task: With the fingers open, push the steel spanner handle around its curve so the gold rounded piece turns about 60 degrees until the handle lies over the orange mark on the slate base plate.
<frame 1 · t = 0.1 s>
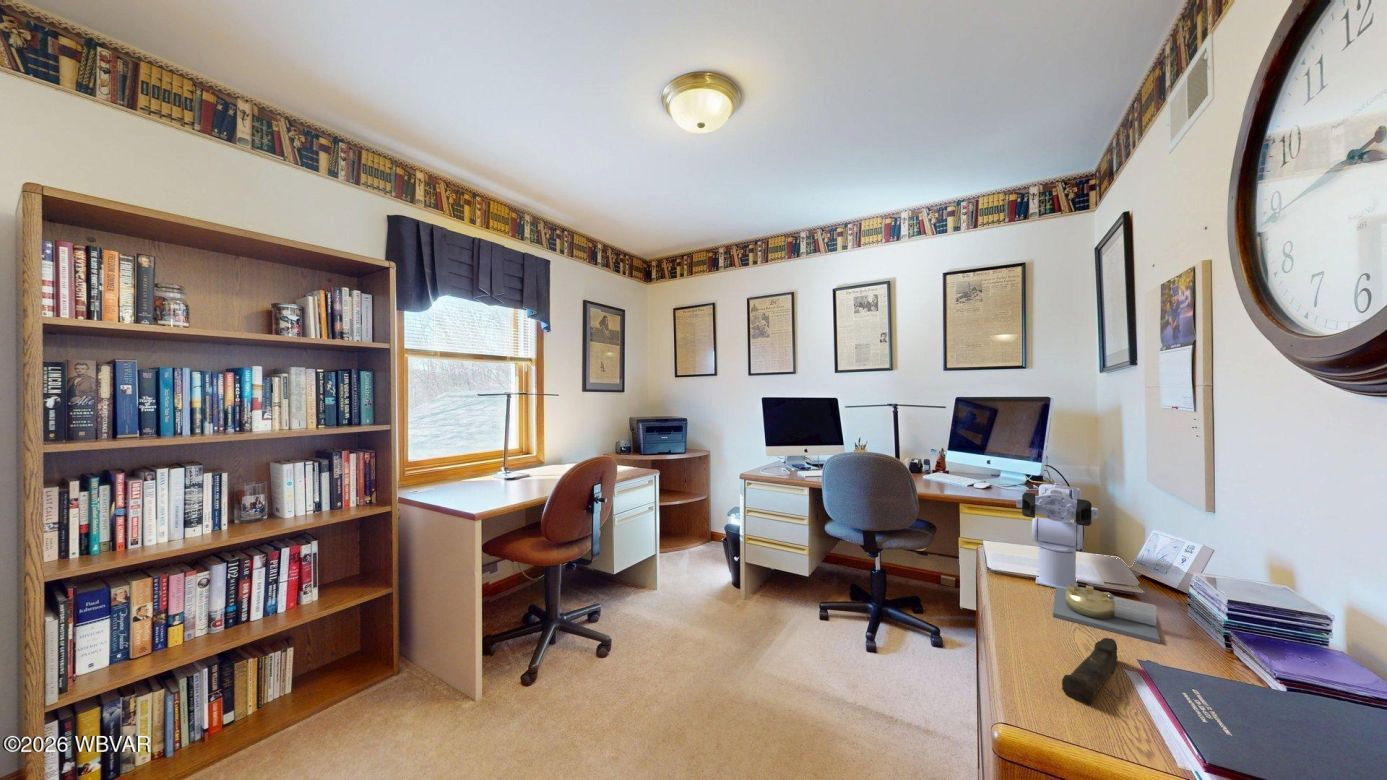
hand: (1054, 513, 99), 22 cm above the table, tool horizontal, fingers open, 7 cm apart
hand tool: (1092, 679, 78), on the table
base plate: (1101, 613, 99), on the table
gold rounded piece: (1108, 604, 96), point 3 cm above the table, hinge at 0.0°
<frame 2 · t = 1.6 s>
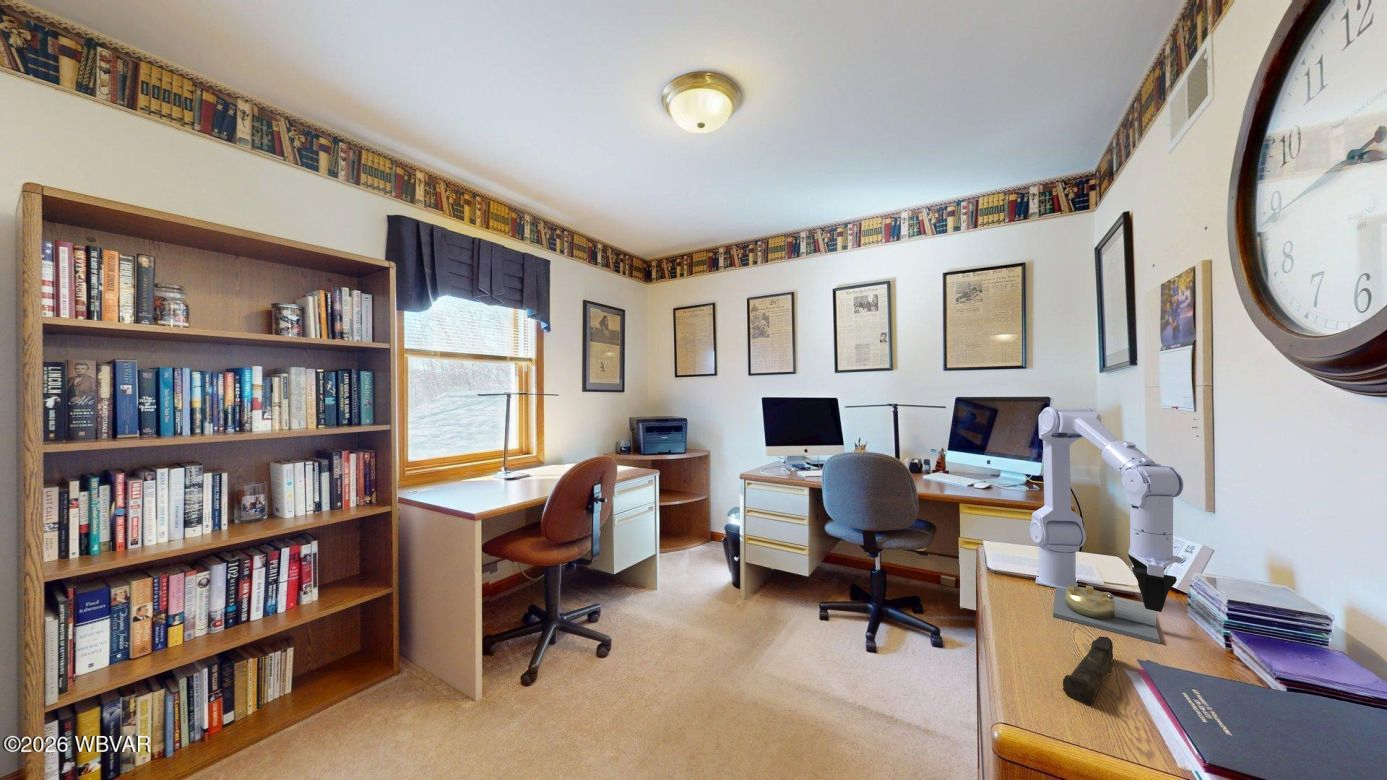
hand: (1150, 602, 86), 8 cm above the table, tool pointing down, fingers open, 7 cm apart
nothing on the table moved.
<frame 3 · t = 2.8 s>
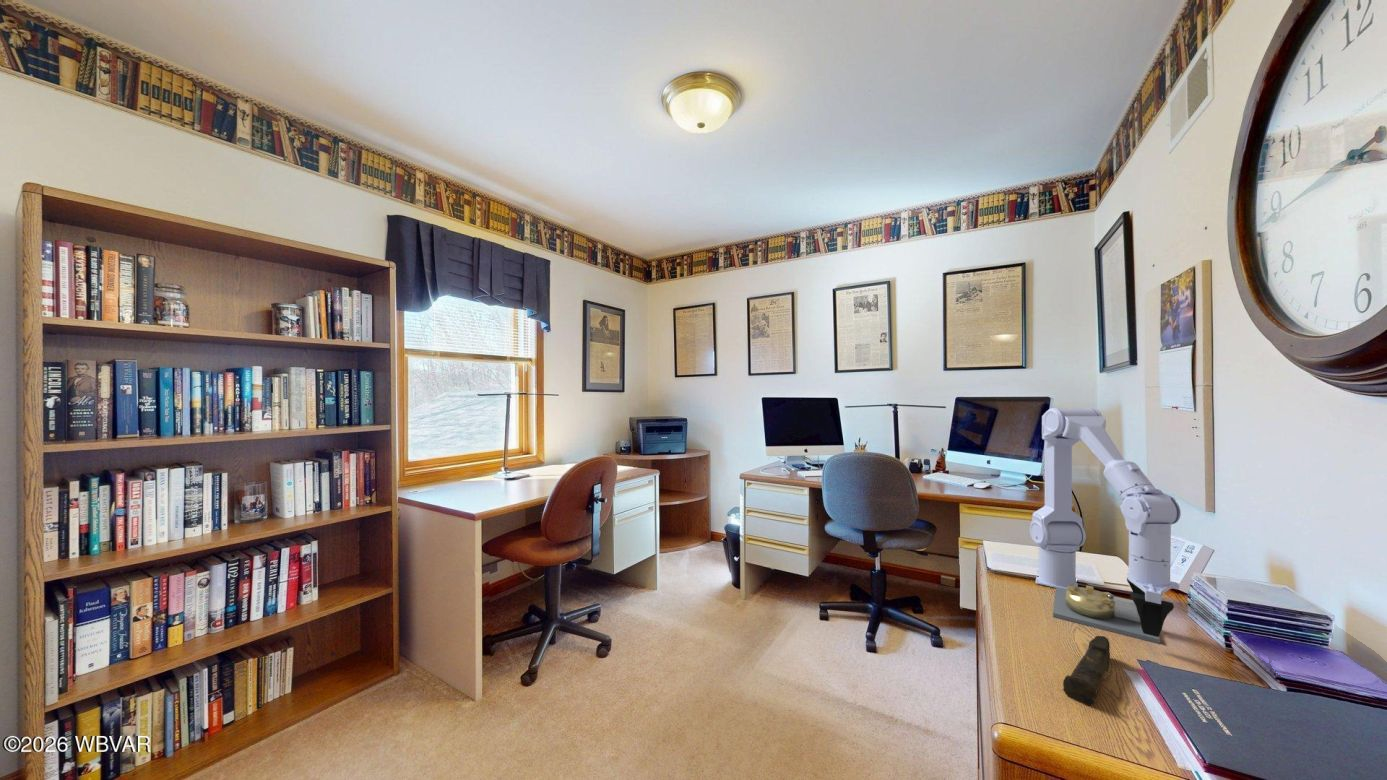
hand: (1148, 626, 89), 3 cm above the table, tool pointing down, fingers open, 7 cm apart
gold rounded piece: (1108, 604, 96), point 3 cm above the table, hinge at 0.0°, touching gripper
everything else where it was.
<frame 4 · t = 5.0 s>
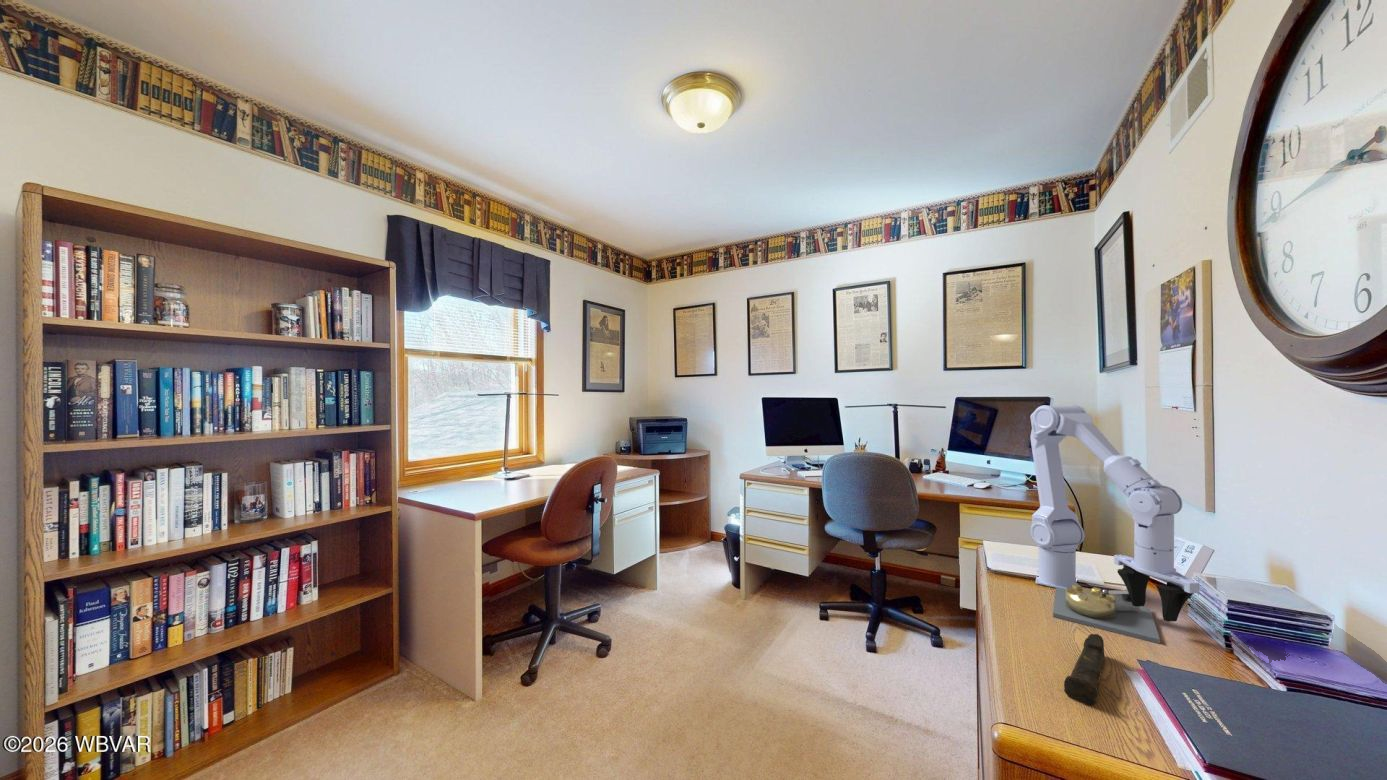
hand: (1153, 612, 94), 3 cm above the table, tool pointing down, fingers open, 6 cm apart
gold rounded piece: (1103, 599, 98), point 3 cm above the table, hinge at 39.8°, touching gripper
everything else where it was.
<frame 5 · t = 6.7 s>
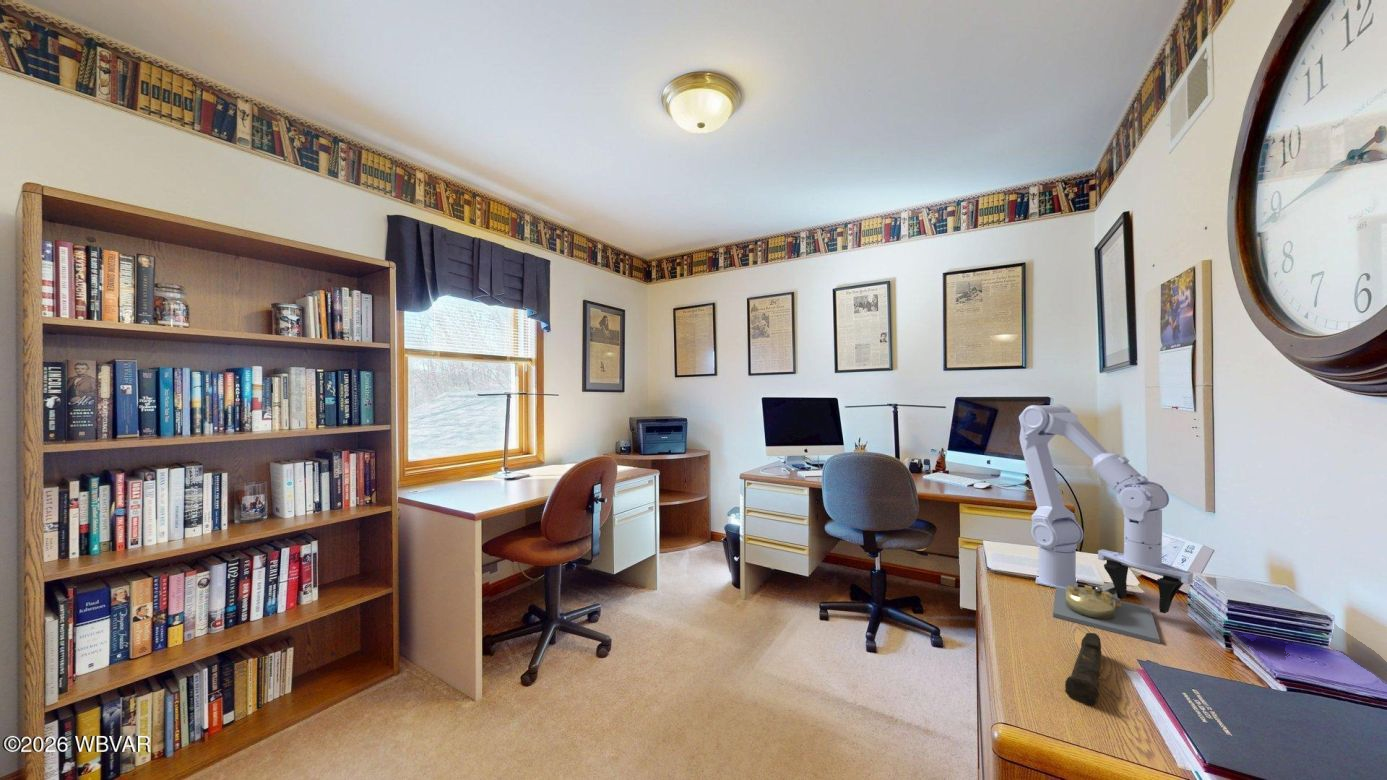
hand: (1142, 604, 97), 3 cm above the table, tool pointing down, fingers open, 6 cm apart
gold rounded piece: (1097, 597, 100), point 3 cm above the table, hinge at 63.5°, touching gripper
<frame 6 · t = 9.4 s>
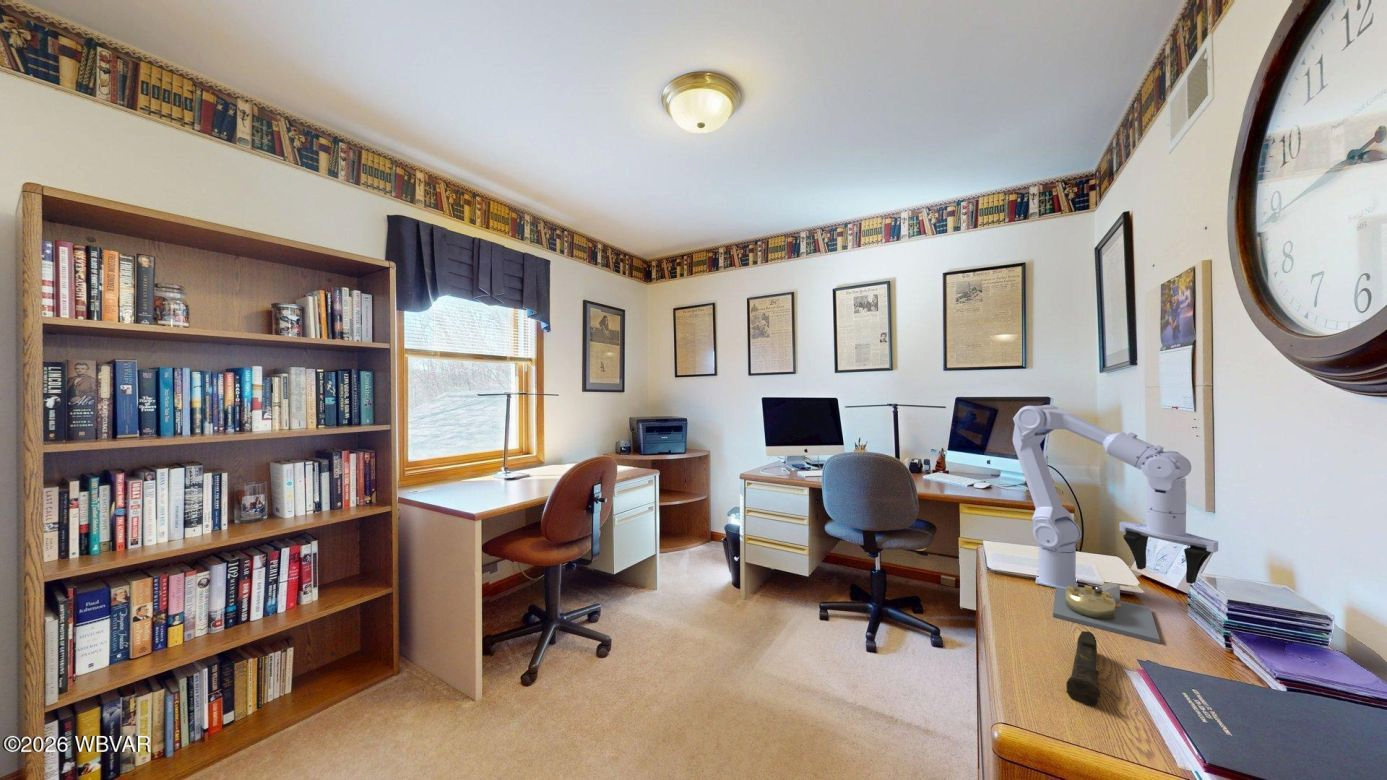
hand: (1165, 575, 96), 9 cm above the table, tool pointing down, fingers open, 7 cm apart
gold rounded piece: (1097, 597, 100), point 3 cm above the table, hinge at 63.7°
at the end: gold rounded piece at +64° (first picture: +0°); hand tool moved 1.5 cm from its start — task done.
